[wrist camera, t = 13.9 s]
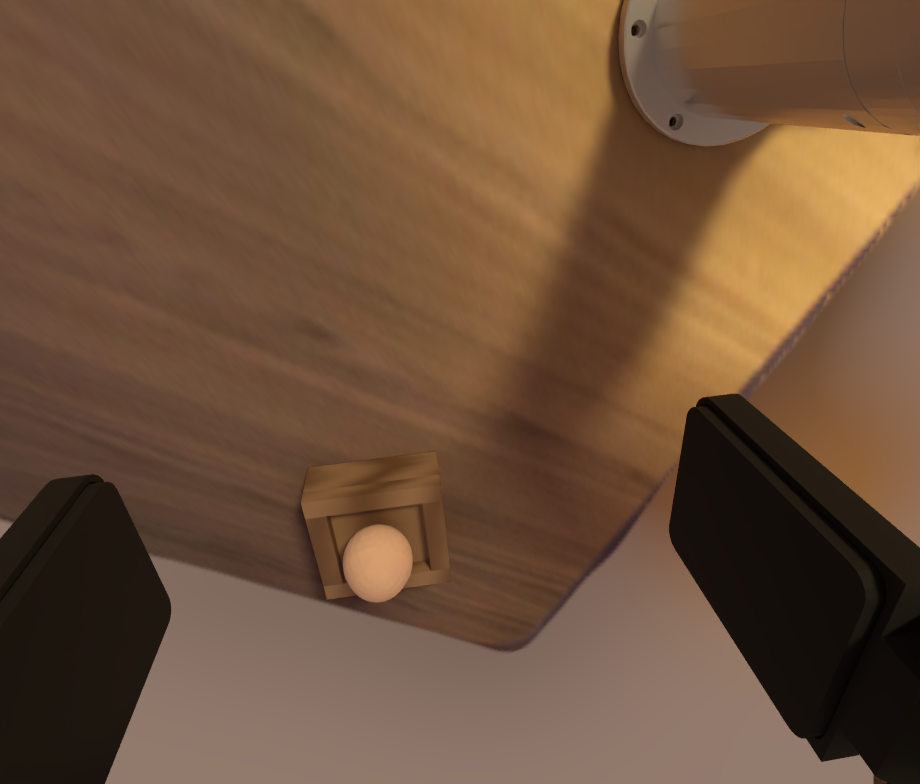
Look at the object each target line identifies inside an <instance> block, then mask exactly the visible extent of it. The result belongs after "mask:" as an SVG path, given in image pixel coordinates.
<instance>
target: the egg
mask: <svg viewBox="0 0 920 784" xmlns="http://www.w3.org/2000/svg"><path fill="white" fill-rule="evenodd" d="M412 565H413V555H412V550H411V547H410V544H409V542H408V540H407V539H406V538H405V536H404V535H403V534H402V533H401V532H400V531H398V530H397V529H395V528H393V527H391V526H388V525H382V524H375V525H370V526H367V527H365V528H363V529H361V530H360V531H358V532H357V533H356V534H355V535H354V536H353V537H352V538H351V539H350V541H349V542H348V544H347V546H346V548H345V551H344V556H343V571H344V575H345V579H346V581H347V583H348V584H349V586H350V588H351V589H352V590H353V591H354V593H355V594H357V595H358V596H359V597H360V598H362V599H363V600H366V601H369V602H383V601H387V600H389V599H391V598H393V597H395V596H396V595H397V594H398V593H399V592H400V591H401V590H402V589H403V587H404V585H405V584H406V582H407V581H408V579H409V577H410V574H411V570H412Z"/></svg>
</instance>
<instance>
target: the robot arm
mask: <svg viewBox="0 0 920 784" xmlns="http://www.w3.org/2000/svg"><path fill="white" fill-rule="evenodd" d="M632 26H635V27H636V34H635V35H634V36H632V33H631V28H632ZM618 42H619V60H620V66H621V71H622V75H623V80H624V84H625V87H626V89H627V91H628V93H629V96H630V98H631V100H632V103H633V105H634V106H635V107H636V109H637V110H638V112H639V113H640V114H641V116H642V117H643V119H644V120H645V121H646V122H647V123H648V124H650V125H651V126H652V127H653V128H654V129H655V130H656V131H657V132H659V133H661V134H663V135H665V136H666V137H668V138H670V139H672V140H674V141H678V142H682V143H686V144H690V145H698V146H718V145H726V144H729V143H733V142H736V141H739V140H743V139H745V138H747V137H749V136H751V135H753V134H755V133H757V132H759V131H761V130H763V129H764V128H765V127H767V126H768V125H769V124H771V123H775V124H787V125H798V126H810V127H821V128H833V129H844V130H856V131H867V132H879V133H890V134H902V135H915V136H920V0H624V2H623V6H622V10H621V17H620V27H619V36H618ZM671 117H672V118H673V122H672V124H671V125H670V126H669V121H670V118H671ZM669 533H670V538H671V541H672V544H673V546H674V548H675V550H676V552H677V553H678V555H679V556H680V558H681V559H682V561H683V562H684V564H685V566H686V567H687V569H688V570H689V572H690V573H691V575H692V577H693V578H694V579H695V581H696V583H697V584H698V586H699V588H700V589H701V591H702V592H703V594H704V595H705V597H706V599H707V600H708V602H709V603H710V605H711V606H712V608H713V610H714V611H715V613H716V614H717V616H718V617H719V619H720V621H721V622H722V624H723V625H724V627H725V628H726V630H727V631H728V633H729V635H730V636H731V638H732V639H733V641H734V642H735V644H736V645H737V647H738V649H739V650H740V652H741V653H742V655H743V656H744V658H745V660H746V661H747V663H748V664H749V666H750V667H751V669H752V671H753V672H754V674H755V675H756V677H757V679H758V680H759V682H760V683H761V685H762V686H763V688H764V689H765V691H766V693H767V694H768V696H769V697H770V699H771V700H772V702H773V703H774V705H775V707H776V708H777V710H778V711H779V713H780V715H781V716H782V718H783V719H784V721H785V722H786V724H787V725H788V727H789V728H790V729H791V731H792V732H793V733H794V734H795V735H796V736H798V737H800V738H806V739H807V740H808V742H809V743H810V745H811V747H812V748H813V750H814V751H815V753H816V754H817V756H818V757H819V759H820V760H821V762H823V761H829V760H834V759H840V758H845V757H850V756H856V755H859V754H860V756H861V757H862V758H863V760H864V761H865V763H866V764H867V765H868V767H869V768H870V770H871V771H872V772H873V774H874V784H920V548H919V547H918V546H917V545H916V544H915V543H913V542H912V541H911V540H910V539H909V538H908V537H906V536H905V535H904V534H903V533H902V532H901V531H899V530H898V529H897V528H896V527H895V526H894V525H892V524H891V523H890V522H889V521H888V520H886V519H885V518H884V517H883V516H882V515H881V514H879V513H878V512H877V511H876V510H875V509H874V508H872V507H871V506H870V505H869V504H868V503H866V502H865V501H864V500H863V499H862V498H861V497H860V496H858V495H857V494H856V493H855V492H854V491H852V490H851V489H850V488H849V487H848V486H846V485H845V484H844V483H843V482H842V481H841V480H840V479H838V478H837V477H836V476H835V475H834V474H832V473H831V472H830V471H829V470H828V469H827V468H825V467H824V466H823V465H822V464H821V463H820V462H818V461H817V460H816V459H815V458H814V457H813V456H811V455H810V454H809V453H808V452H807V451H806V450H804V449H803V448H802V447H801V446H800V445H798V444H797V443H796V442H795V441H794V440H793V439H791V438H790V437H789V436H788V435H787V434H785V433H784V432H783V431H782V430H781V429H780V428H778V427H777V426H776V425H775V424H774V423H772V421H770V420H769V419H768V418H767V417H765V416H764V415H763V414H762V413H761V412H760V411H759V410H757V409H756V408H755V407H754V406H753V405H751V404H750V403H749V402H748V401H747V400H746V399H745V398H743V397H742V396H740V395H739V394H727V395H719V396H711V397H703V398H701V399H700V400H699V401H698V403H697V404H696V407H693V408H691V409H690V410H689V411H688V414H687V418H686V424H685V431H684V437H683V443H682V449H681V456H680V462H679V468H678V474H677V480H676V487H675V493H674V499H673V505H672V512H671V518H670V524H669ZM170 615H171V603H170V599H169V596H168V594H167V592H166V590H165V588H164V586H163V584H162V582H161V580H160V578H159V576H158V574H157V571H156V569H155V567H154V565H153V563H152V561H151V559H150V557H149V555H148V553H147V551H146V549H145V546H144V544H143V542H142V540H141V538H140V536H139V534H138V532H137V530H136V528H135V526H134V524H133V521H132V519H131V517H130V515H129V513H128V511H127V509H126V507H125V505H124V503H123V501H122V499H121V497H120V494H119V492H118V490H117V489H116V487H115V485H113V484H112V483H110V482H104V481H103V479H102V478H101V477H99V476H98V475H93V474H92V475H84V476H76V477H68V478H60V479H55V480H51V481H50V482H49V483H48V484H46V485H45V487H44V488H43V489H42V490H41V491H40V492H39V494H38V495H37V496H36V497H35V498H34V500H33V501H32V502H31V503H30V504H29V505H28V507H27V508H26V509H25V510H24V511H23V512H22V514H21V515H20V516H19V517H18V518H17V520H16V521H15V522H14V523H13V524H12V525H11V527H10V528H9V529H8V530H7V531H6V533H5V534H4V535H3V536H2V537H1V539H0V784H105V782H106V779H107V777H108V774H109V772H110V769H111V767H112V764H113V762H114V759H115V757H116V754H117V752H118V749H119V747H120V744H121V742H122V739H123V737H124V734H125V732H126V729H127V726H128V724H129V722H130V719H131V717H132V714H133V712H134V709H135V707H136V704H137V702H138V699H139V697H140V694H141V691H142V689H143V687H144V684H145V682H146V679H147V677H148V674H149V671H150V669H151V666H152V664H153V661H154V659H155V656H156V654H157V651H158V649H159V646H160V644H161V641H162V639H163V636H164V634H165V631H166V629H167V626H168V624H169V621H170Z"/></svg>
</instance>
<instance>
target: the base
mask: <svg viewBox="0 0 920 784" xmlns="http://www.w3.org/2000/svg"><path fill="white" fill-rule="evenodd" d="M301 506H302V510H303V513H304V517H305V521H306V524H307V528H308V532H309V535H310V539H311V542H312V546H313V550H314V553H315V557H316V561H317V564H318V568H319V572H320V575H321V579H322V583H323V586H324V590H325V594H326V597H327V600H328V599H335V598H342V597H348V596H355V595H357V594H355V593H354V591H353V590H352V589H351V588H350V586H349V584H348V583H347V581H346V579H345V575H344V571H343V556H344V551H345V548H346V546H347V544H348V542H349V541H350V539H351V538H352V537H353V536H354V535H355V534H356V533H357V532H358V531H360V530H361V529H363V528H365V527H367V526H370V525H375V524H382V525H388V526H391V527H393V528H395V529H397V530H398V531H400V532H401V533H402V534H403V535H404V536H405V538H406V539H407V540H408V542H409V544H410V547H411V550H412V555H413V565H412V570H411V574H410V577H409V579H408V581H407V582H406V584H405V585H404V587H403V588H410V587H416V586H423V585H430V584H437V583H444V582H450V581H451V574H450V565H449V556H448V546H447V537H446V528H445V519H444V509H443V500H442V491H441V482H440V476H439V469H438V462H437V456H436V451H434V452H426V453H418V454H411V455H403V456H395V457H387V458H380V459H372V460H364V461H356V462H349V463H341V464H333V465H325V466H317V467H310V468H308V469H307V474H306V479H305V484H304V489H303V495H302V500H301Z"/></svg>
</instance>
